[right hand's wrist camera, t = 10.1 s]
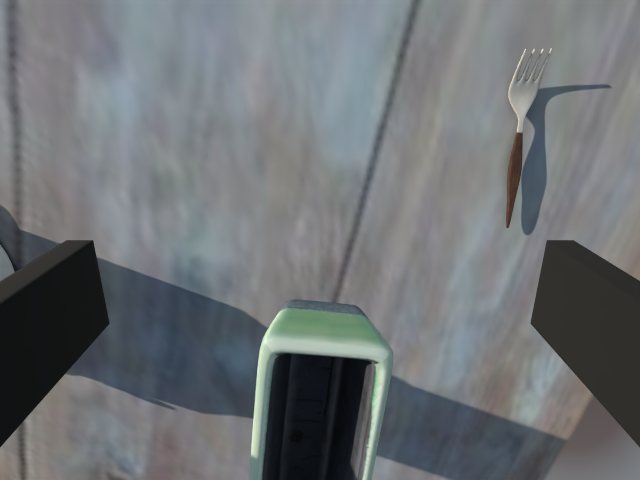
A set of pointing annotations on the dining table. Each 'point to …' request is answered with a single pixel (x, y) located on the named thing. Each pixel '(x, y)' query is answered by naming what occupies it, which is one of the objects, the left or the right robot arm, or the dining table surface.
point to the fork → (520, 122)
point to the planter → (319, 394)
